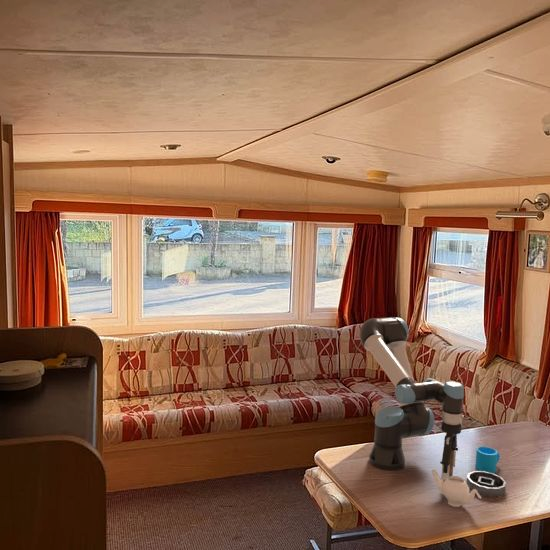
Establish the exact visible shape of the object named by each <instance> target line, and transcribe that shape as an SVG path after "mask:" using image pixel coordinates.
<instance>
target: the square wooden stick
mask: <svg viewBox="0 0 550 550" xmlns="http://www.w3.org/2000/svg"><path fill="white" fill-rule="evenodd" d="M453 462H454V450H452V451H451V457H450V462H449V463H450V470H449V477H450V476H454V467H453ZM442 481H443V482H444V481H445V480H442Z"/></svg>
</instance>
